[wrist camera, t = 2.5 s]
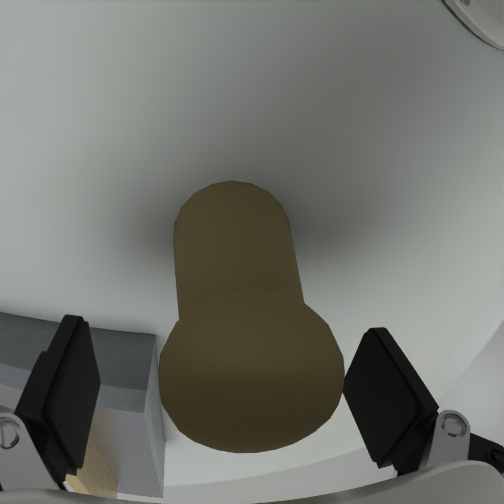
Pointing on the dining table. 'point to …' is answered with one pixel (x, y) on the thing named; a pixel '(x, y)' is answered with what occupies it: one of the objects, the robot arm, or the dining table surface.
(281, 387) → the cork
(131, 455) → the grey slotted box
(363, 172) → the dining table surface
